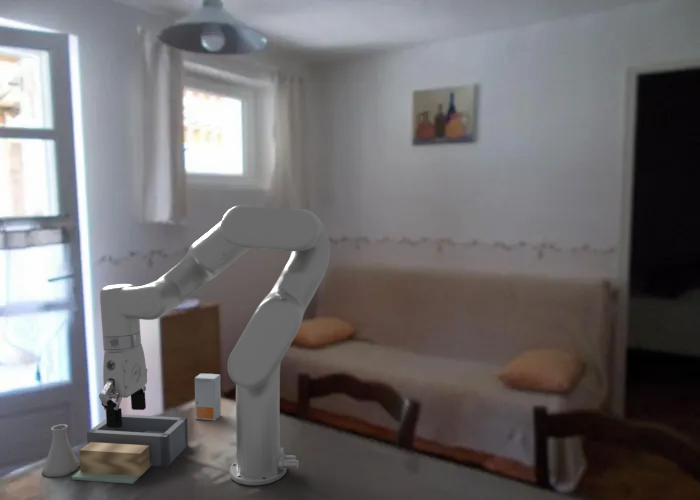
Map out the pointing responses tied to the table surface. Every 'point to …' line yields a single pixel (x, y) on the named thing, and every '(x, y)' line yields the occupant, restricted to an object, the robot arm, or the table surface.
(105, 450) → the oak bar
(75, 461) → the flask
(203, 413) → the skincare box
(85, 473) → the mat
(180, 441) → the cradle
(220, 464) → the table surface
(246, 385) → the robot arm
